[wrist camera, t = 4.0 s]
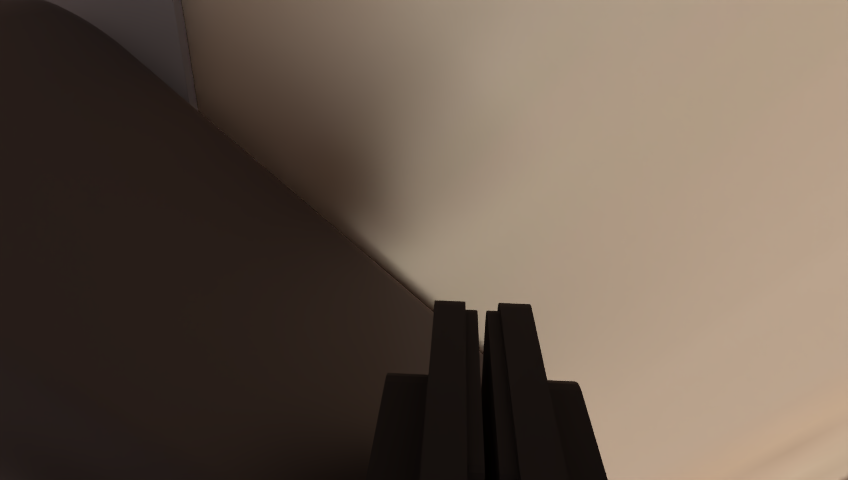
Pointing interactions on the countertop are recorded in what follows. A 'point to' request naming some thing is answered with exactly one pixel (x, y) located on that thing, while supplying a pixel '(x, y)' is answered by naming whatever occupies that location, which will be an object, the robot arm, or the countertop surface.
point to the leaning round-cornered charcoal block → (171, 286)
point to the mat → (145, 35)
